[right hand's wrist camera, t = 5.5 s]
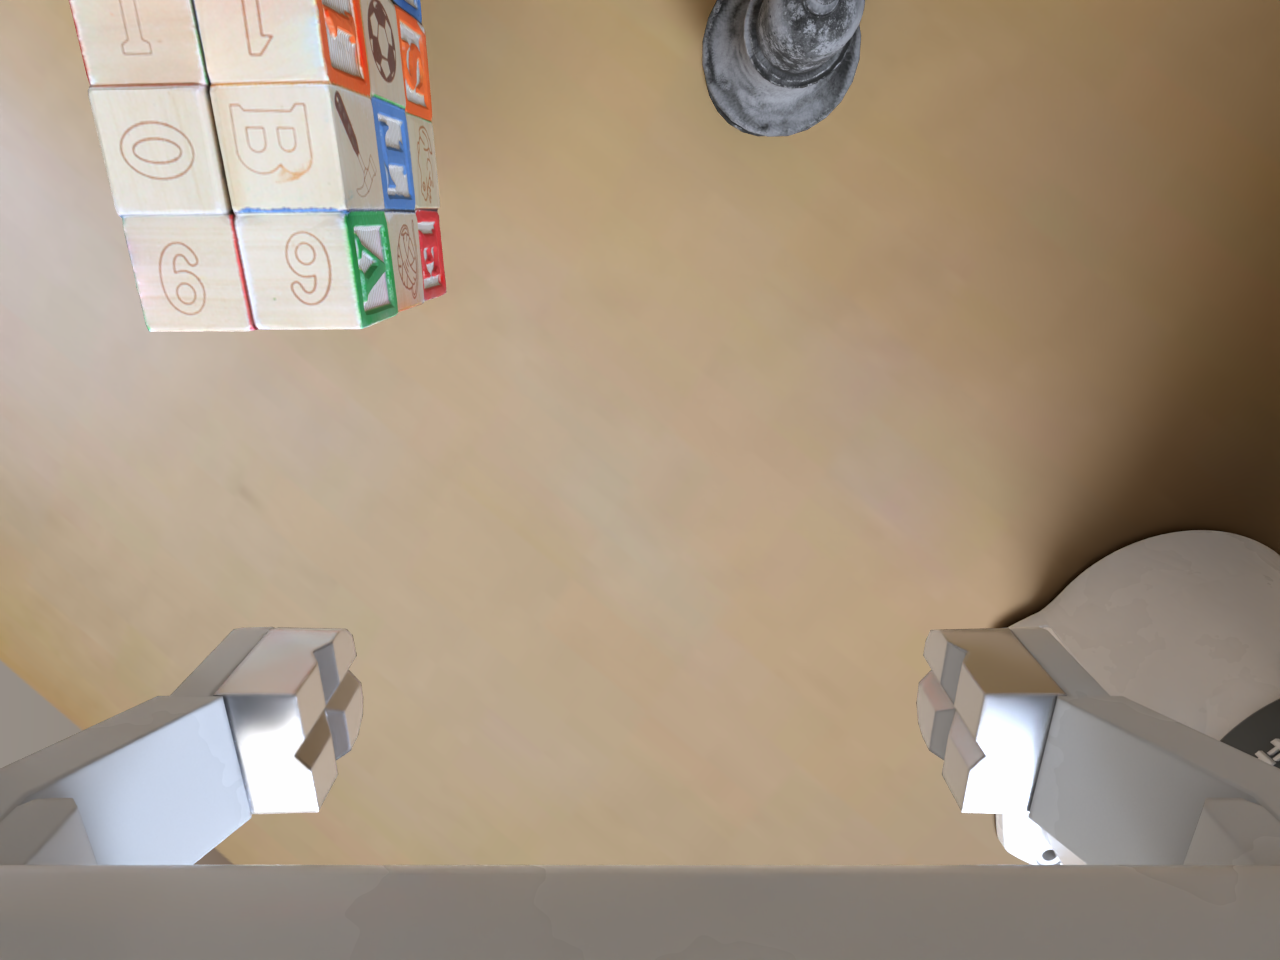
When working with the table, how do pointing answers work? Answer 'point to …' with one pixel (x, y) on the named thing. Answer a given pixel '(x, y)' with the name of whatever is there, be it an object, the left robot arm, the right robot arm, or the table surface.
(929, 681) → the right robot arm
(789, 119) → the grey chess piece
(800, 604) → the table surface
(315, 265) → the stack of blocks
